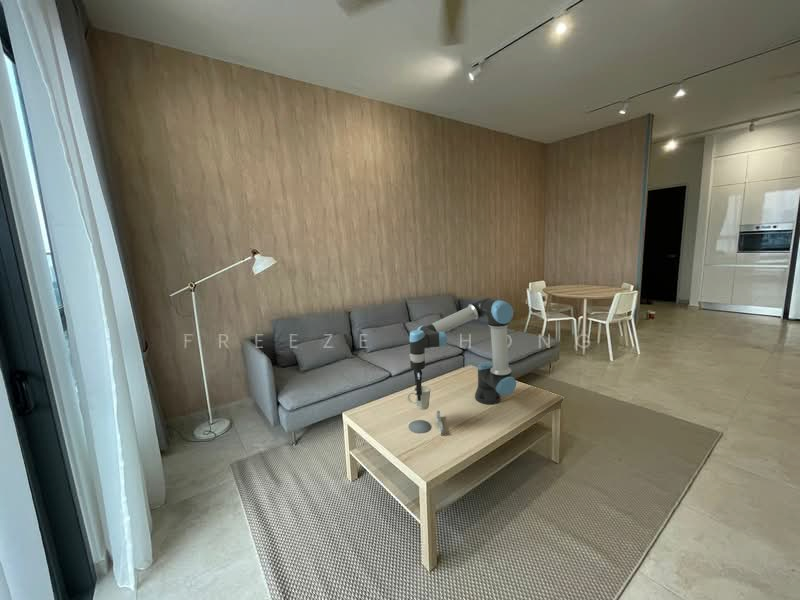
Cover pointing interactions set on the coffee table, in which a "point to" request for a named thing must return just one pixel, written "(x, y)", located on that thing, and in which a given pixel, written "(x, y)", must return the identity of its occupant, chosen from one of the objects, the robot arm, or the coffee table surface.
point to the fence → (440, 423)
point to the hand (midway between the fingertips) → (418, 401)
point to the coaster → (419, 426)
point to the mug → (424, 397)
